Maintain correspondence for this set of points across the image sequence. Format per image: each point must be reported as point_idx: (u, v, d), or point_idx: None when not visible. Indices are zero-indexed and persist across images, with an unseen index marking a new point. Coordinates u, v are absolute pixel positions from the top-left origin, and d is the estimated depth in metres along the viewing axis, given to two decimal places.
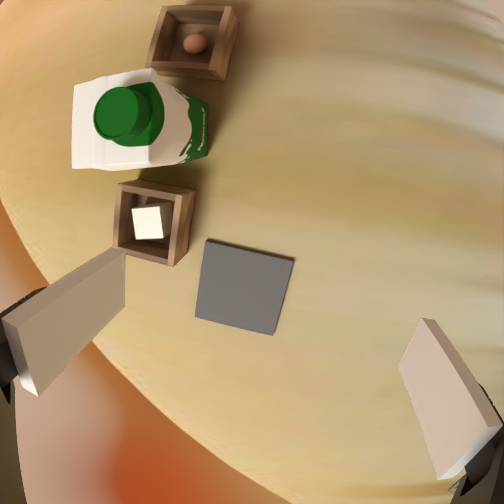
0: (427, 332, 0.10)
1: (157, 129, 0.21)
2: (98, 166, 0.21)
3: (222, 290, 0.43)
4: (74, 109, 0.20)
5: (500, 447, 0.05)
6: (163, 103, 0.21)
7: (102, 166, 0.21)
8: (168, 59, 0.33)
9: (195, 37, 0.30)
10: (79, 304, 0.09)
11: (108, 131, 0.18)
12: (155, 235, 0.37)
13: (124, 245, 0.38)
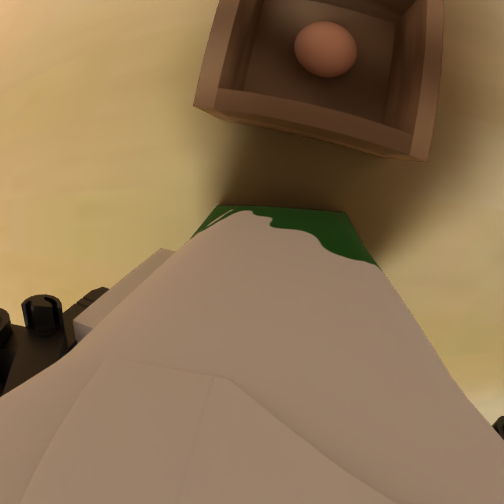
0: None
1: None
2: None
3: None
4: None
5: None
6: None
7: None
8: (244, 79, 0.14)
9: (339, 33, 0.10)
10: None
11: None
12: None
13: None
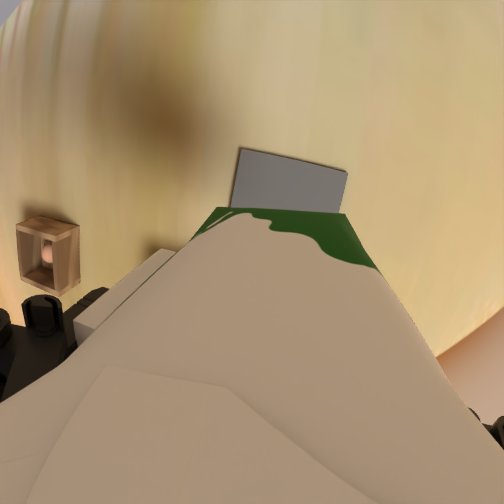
0: None
1: None
2: None
3: None
4: None
5: None
6: None
7: None
8: None
9: (42, 252, 0.37)
10: None
11: None
12: None
13: None
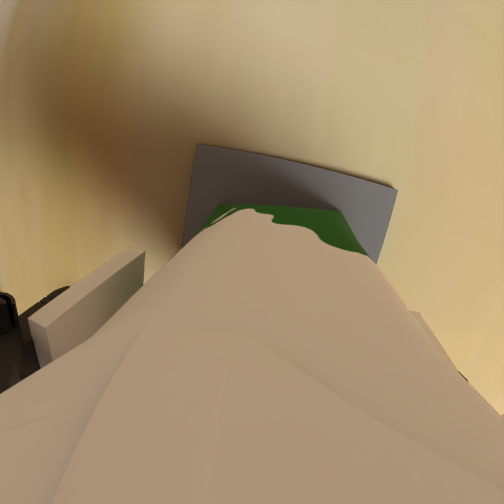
0: None
1: None
2: None
3: None
4: None
5: None
6: None
7: None
8: None
9: None
10: (102, 303, 0.09)
11: None
12: None
13: None
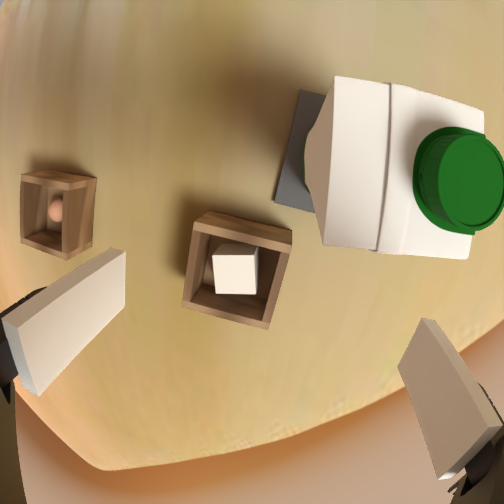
0: (427, 332, 0.10)
1: None
2: (390, 253, 0.13)
3: None
4: (337, 126, 0.11)
5: (500, 447, 0.05)
6: None
7: (394, 253, 0.13)
8: None
9: (49, 208, 0.31)
10: (79, 304, 0.09)
11: (461, 212, 0.10)
12: (250, 265, 0.29)
13: (264, 312, 0.30)
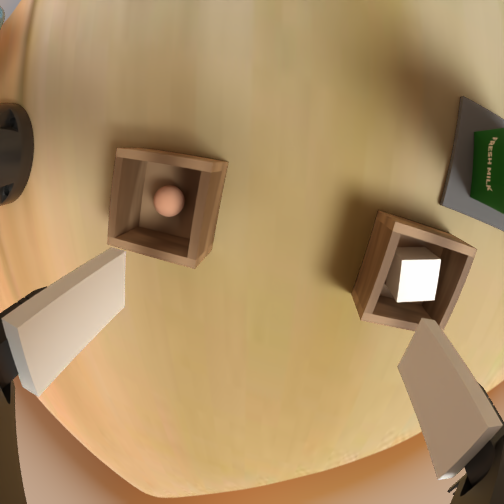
0: (427, 332, 0.10)
1: None
2: None
3: None
4: None
5: (500, 447, 0.05)
6: None
7: None
8: (188, 239, 0.30)
9: (159, 197, 0.26)
10: (79, 304, 0.09)
11: None
12: (435, 270, 0.23)
13: (437, 318, 0.25)
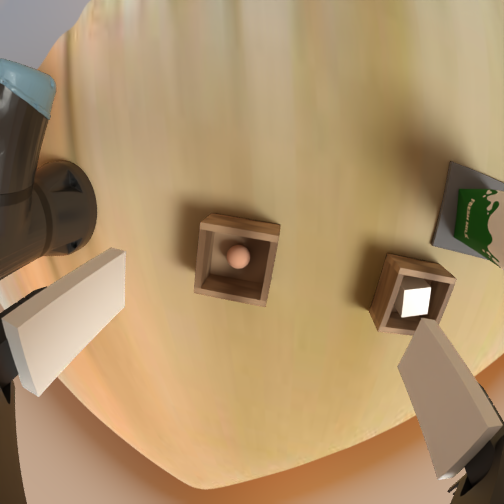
0: (427, 332, 0.10)
1: None
2: None
3: None
4: None
5: (500, 447, 0.05)
6: None
7: None
8: (252, 282, 0.41)
9: (233, 256, 0.37)
10: (79, 304, 0.09)
11: None
12: (427, 294, 0.35)
13: None
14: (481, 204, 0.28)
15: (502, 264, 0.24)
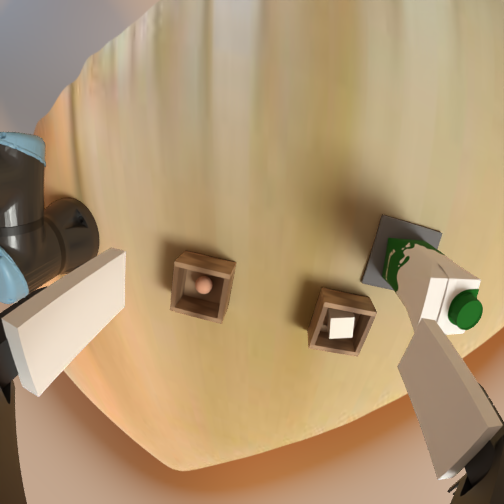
0: (427, 332, 0.10)
1: None
2: None
3: None
4: (427, 296, 0.30)
5: (500, 447, 0.05)
6: None
7: None
8: (214, 303, 0.53)
9: (199, 285, 0.49)
10: (79, 304, 0.09)
11: (463, 325, 0.28)
12: (351, 322, 0.47)
13: (355, 346, 0.48)
14: (397, 256, 0.40)
15: None
